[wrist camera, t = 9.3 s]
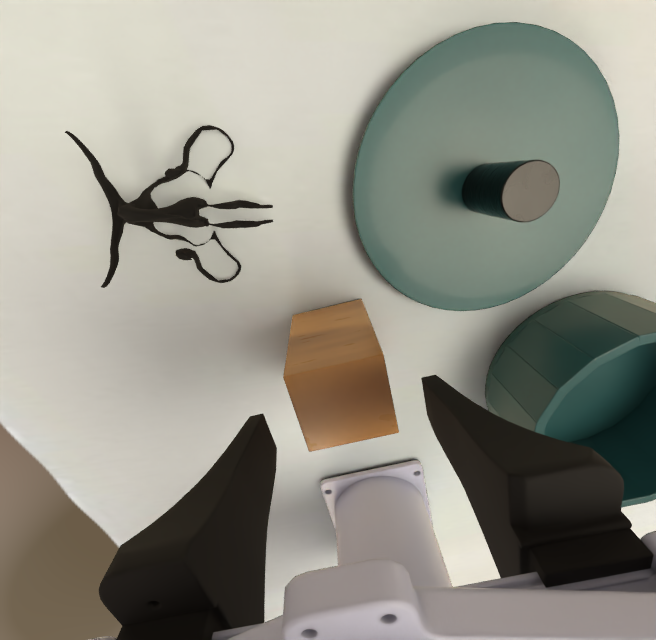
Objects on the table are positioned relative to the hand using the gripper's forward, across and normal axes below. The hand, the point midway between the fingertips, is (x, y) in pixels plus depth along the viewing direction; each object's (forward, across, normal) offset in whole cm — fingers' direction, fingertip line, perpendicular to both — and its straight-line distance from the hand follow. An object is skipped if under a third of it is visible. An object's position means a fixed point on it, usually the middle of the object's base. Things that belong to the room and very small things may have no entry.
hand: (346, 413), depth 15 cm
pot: (+7, -16, +7) cm, 19 cm away
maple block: (+7, 0, 0) cm, 7 cm away
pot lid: (+7, -10, -7) cm, 14 cm away
